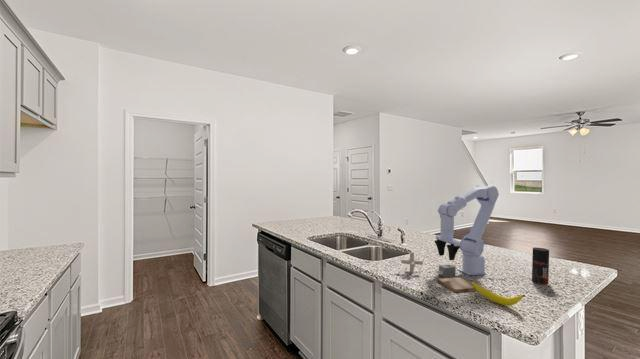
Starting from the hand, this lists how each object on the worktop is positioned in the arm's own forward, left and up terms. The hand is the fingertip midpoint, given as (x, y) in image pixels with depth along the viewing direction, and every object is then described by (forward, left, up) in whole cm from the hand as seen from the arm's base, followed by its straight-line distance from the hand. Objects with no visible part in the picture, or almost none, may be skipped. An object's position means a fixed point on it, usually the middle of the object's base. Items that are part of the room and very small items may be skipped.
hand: (446, 257), depth 136 cm
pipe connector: (+14, -7, -9) cm, 18 cm away
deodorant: (-37, +15, -9) cm, 41 cm away
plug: (0, 0, -9) cm, 9 cm away
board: (+3, +12, -9) cm, 15 cm away
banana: (0, +29, -9) cm, 30 cm away
